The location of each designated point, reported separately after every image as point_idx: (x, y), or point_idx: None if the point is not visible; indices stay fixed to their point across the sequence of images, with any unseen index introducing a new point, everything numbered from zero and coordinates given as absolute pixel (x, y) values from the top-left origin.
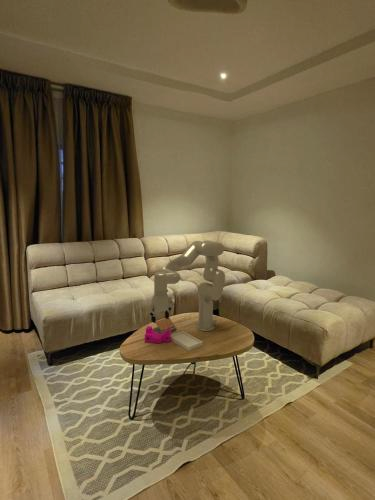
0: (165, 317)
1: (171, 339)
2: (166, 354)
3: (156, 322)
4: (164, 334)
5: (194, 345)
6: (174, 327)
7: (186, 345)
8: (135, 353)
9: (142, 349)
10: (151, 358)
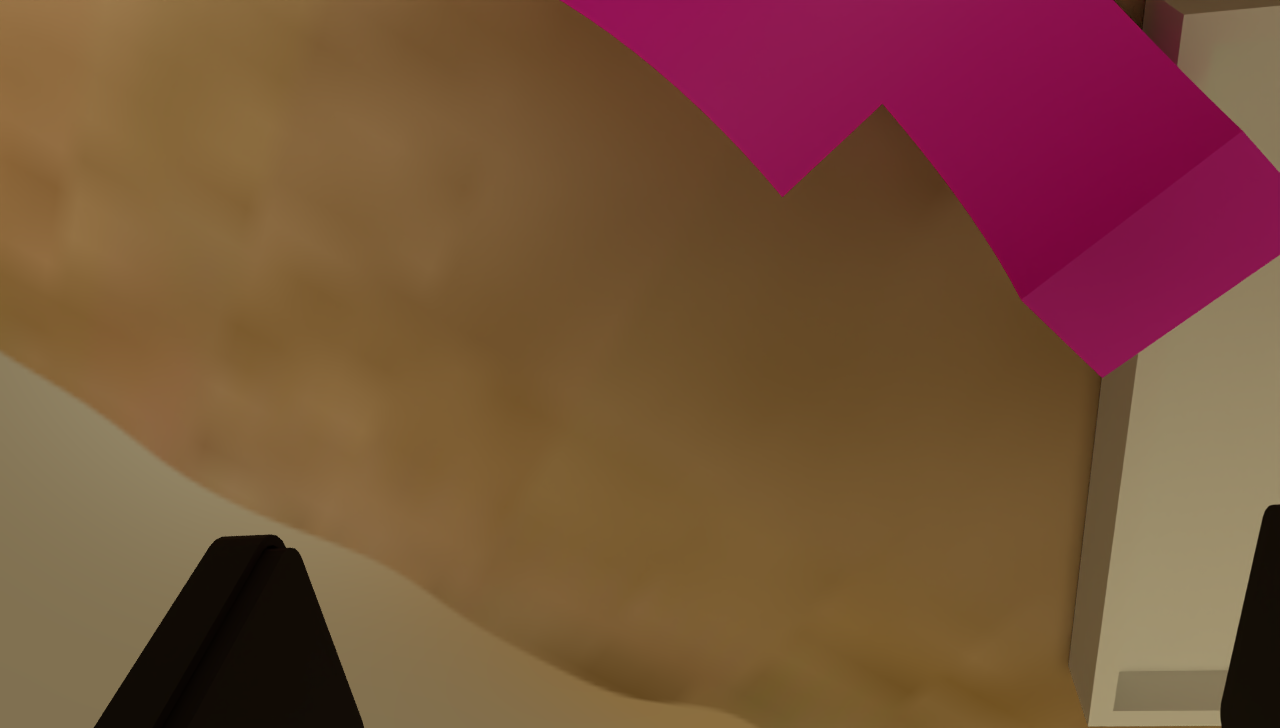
0: (1274, 558)
1: None
2: (636, 550)
3: None
4: (945, 180)
5: None
6: None
7: (1183, 563)
8: (52, 194)
9: (241, 118)
10: (324, 514)
